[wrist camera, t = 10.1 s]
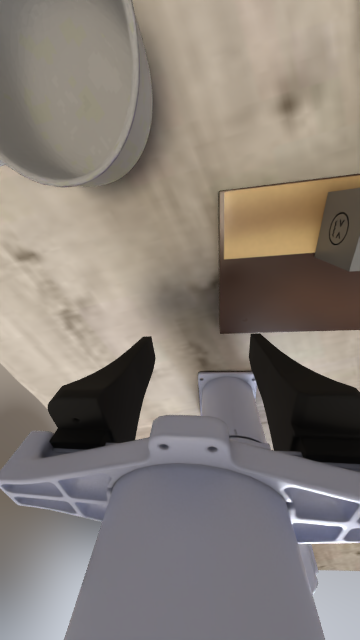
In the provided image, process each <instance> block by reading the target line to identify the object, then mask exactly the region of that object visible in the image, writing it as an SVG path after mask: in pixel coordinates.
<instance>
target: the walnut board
mask: <svg viewBox="0 0 360 640" xmlns="http://www.w3.org/2000/svg"><path fill="white" fill-rule="evenodd" d="M354 188H360V174H354V175H346V176H338V177H329V178H321V179H313V180H305V181H297V182H289V183H280V184H272V185H264V186H256V187H248V188H240V189H231V190H223V191H219V192H218V221H219V329H220V334H229V333H264V332H300V331H335V330H360V271H350V272H349V271H347V270H344V269H342V268H339V267H337V266H335V265H332V264H330V263H328V262H325V261H323V260H320V259H318V258H316V257H314V256H315V251H316V246H317V242H318V237H319V232H320V228H321V223H322V218H323V214H324V209H325V204H326V200H327V195H328V192H333V191H340V190H347V189H354Z"/></svg>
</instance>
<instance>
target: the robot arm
mask: <svg viewBox="0 0 360 640" xmlns="http://www.w3.org/2000/svg"><path fill="white" fill-rule="evenodd" d="M249 360H250V365H251V369H252V372H200V373H198V385H199V398H200V412H201V416H191V415H164V416H159V417H158V418H157V419H155V420H154V421H153V425H152V429H151V433H150V437H149V438H144V439H139V440H135V437H136V431H137V426H138V421H139V416H140V411H141V407H142V402H143V399H144V395H145V392H146V389H147V387H148V384H149V381H150V378H151V375H152V372H153V369H154V364H155V353H154V348H153V343H152V338H151V337H142V338H141V339H140V340H139V341H138V342H137V343H136V344H135V345H133V346H132V347H131V348H130V349H129V350H128V351H126V352H125V353H124V354H123V355H121V356H120V357H119V358H118V359H116V360H115V361H113V362H112V363H110V364H109V365H107V366H106V367H104V368H102V369H100V370H99V371H97V372H95V373H93V374H91V375H89V376H87V377H85V378H82V379H80V380H78V381H75V382H72V383H70V384H67V385H64V386H62V387H61V388H60V390H59V391H58V392H57V393H56V395H55V396H54V397H53V398H52V400H51V401H50V402H49V404H48V411H49V414H50V416H51V417H52V419H53V421H54V422H55V424H56V426H57V427H58V429H57V431H56V432H55V433H52V432H49V431H31V432H30V433H29V435H28V436H27V437H26V439H25V440H24V441H23V442H22V444H21V445H20V446H19V447H18V449H17V450H16V451H15V453H14V454H13V455H12V456H11V458H10V459H9V460H8V461H7V463H6V464H5V466H4V467H3V468H2V469H1V471H0V489H1V490H2V491H3V492H5V493H6V494H7V495H8V496H9V497H10V498H11V499H12V500H13V501H14V502H15V503H16V504H17V505H21V506H29V507H37V508H42V509H49V510H53V511H58V512H63V513H67V514H71V515H75V516H80V517H84V518H88V519H92V520H97V521H101V522H102V524H101V528H100V530H99V533H98V536H97V540H96V543H95V546H94V549H93V552H92V555H91V558H90V561H89V564H88V568H87V570H86V573H85V577H84V580H83V583H82V586H81V589H80V592H79V595H78V598H77V601H76V604H75V608H74V611H73V614H72V617H71V620H70V623H69V626H68V629H67V632H66V635H65V638H64V640H325V638H324V634H323V630H322V627H321V623H320V620H319V616H318V613H317V609H316V606H315V602H314V599H313V594H314V592H315V590H316V588H317V586H318V580H317V577H316V575H317V574H318V568H317V564H316V560H315V557H314V553H313V549H312V545H311V544H315V543H360V392H359V391H358V390H357V389H356V388H354V387H351V386H348V385H346V384H343V383H340V382H337V381H334V380H332V379H329V378H327V377H325V376H322V375H320V374H318V373H316V372H314V371H312V370H310V369H308V368H306V367H304V366H302V365H301V364H299V363H297V362H296V361H294V360H293V359H291V358H289V357H288V356H287V355H285V354H284V353H283V352H281V351H280V350H279V349H277V348H276V347H275V346H274V345H272V344H271V343H270V342H269V341H268V340H267V339H266V338H264V337H263V336H262V335H261V334H260V333H259V334H251V337H250V349H249ZM201 378H203V379H201ZM252 378H254V379H252ZM257 386H258V389H259V391H260V394H261V397H262V400H263V404H264V408H265V412H266V416H267V420H268V425H269V429H270V434H271V438H272V443H273V448H274V450H271V449H270V445H269V444H268V443H267V442H266V438H265V434H264V431H263V427H262V423H261V420H260V416H259V412H258V409H257V405H256V402H255V397H256V388H257Z"/></svg>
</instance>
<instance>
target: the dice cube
mask: <svg viewBox="0 0 360 640" xmlns="http://www.w3.org/2000/svg"><path fill="white" fill-rule="evenodd" d="M314 257H316V258H318V259H320V260H323V261H325V262H328V263H330V264H332V265H335V266H337V267H339V268H342V269H344V270H347V271H349V272H350V271H360V188H354V189H347V190H340V191H333V192H328V195H327V200H326V204H325V209H324V214H323V218H322V223H321V228H320V232H319V237H318V242H317V246H316V251H315V256H314Z"/></svg>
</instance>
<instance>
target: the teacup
mask: <svg viewBox="0 0 360 640" xmlns="http://www.w3.org/2000/svg"><path fill="white" fill-rule="evenodd" d="M152 108H153V102H152V84H151V76H150V70H149V65H148V60H147V55H146V51H145V47H144V43H143V40H142V36H141V33H140V29H139V26H138V23H137V19H136V16H135V13H134V7H133V2H132V0H0V166H3V165H6V166H8V167H10V168H11V169H13V170H14V171H16V172H17V173H19V174H20V175H22V176H24V177H26V178H29V179H31V180H33V181H35V182H37V183H41V184H44V185H49V186H55V187H72V186H83V187H89V186H102V185H106V184H110V183H112V182H115V181H117V180H119V179H120V178H122V177H123V176H124V175H126V174H127V173H128V172H129V171H130V170H131V169H132V168H133V167H134V165H135V164H136V163H137V161H138V160H139V158H140V156H141V154H142V152H143V150H144V148H145V145H146V143H147V139H148V136H149V132H150V127H151V121H152Z"/></svg>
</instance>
